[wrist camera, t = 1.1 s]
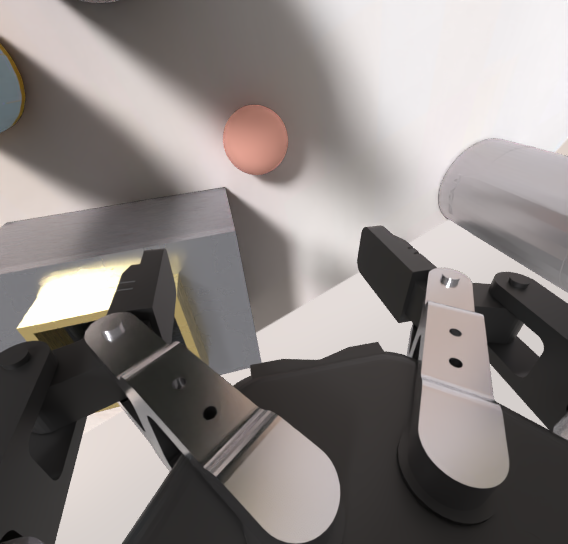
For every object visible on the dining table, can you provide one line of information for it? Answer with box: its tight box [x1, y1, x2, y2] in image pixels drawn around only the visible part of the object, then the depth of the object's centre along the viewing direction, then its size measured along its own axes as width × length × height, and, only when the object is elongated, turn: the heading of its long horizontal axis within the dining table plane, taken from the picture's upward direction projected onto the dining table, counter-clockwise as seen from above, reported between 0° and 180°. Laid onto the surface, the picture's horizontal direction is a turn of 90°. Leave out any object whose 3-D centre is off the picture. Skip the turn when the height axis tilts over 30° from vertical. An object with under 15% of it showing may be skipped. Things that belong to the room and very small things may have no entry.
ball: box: [223, 105, 288, 175], centre depth 24 cm, size 5×5×5 cm
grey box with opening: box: [0, 187, 261, 413], centre depth 26 cm, size 18×14×12 cm
